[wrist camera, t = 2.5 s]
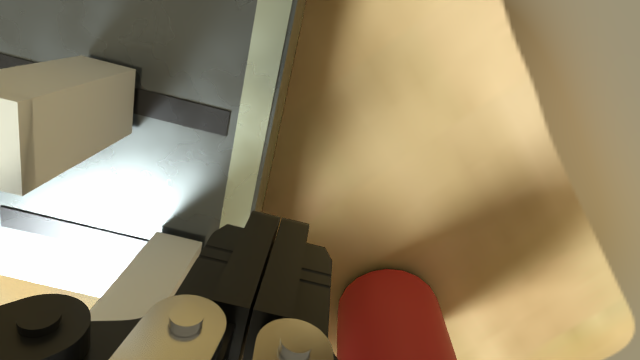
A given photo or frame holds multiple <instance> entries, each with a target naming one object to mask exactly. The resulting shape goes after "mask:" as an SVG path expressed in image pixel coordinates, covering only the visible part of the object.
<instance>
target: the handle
mask: <svg viewBox="0 0 640 360" xmlns="http://www.w3.org/2000/svg"><path fill="white" fill-rule="evenodd" d="M201 248H202V242H199V241H195V240H191V239H187V238H183V237H178V236H174V235H170V234H166V233H162V232H156V233H155V234H154V235H153V236H152V238H151V239H150V240H149V241H148V242H147V243H146V245H145V246H144V247H143V248H142V249H141V251H140V252H139V253H138V254H137V255H136V256H135V258H134V259H133V260H132V261H131V262H130V263H129V265H128V266H127V267H126V268H125V269H124V271H123V272H122V273H121V274H120V275H119V276H118V278H117V279H116V280H115V281H114V282H113V283H112V285H111V286H110V287H109V288H108V289H107V291H106V292H105V293H104V294H103V295H102V296H101V298H100V299H99V300H98V301H97V302H96V304H95V305H94V306H93V307H92V308H91V309H90V314H91V321H116V320H132V319H138V318H142V317H143V316H144V315H145V314H146V312H147V311H148V310H149V309H150V308H151V307H152V306H153V305H154V304H156V303H157V302H159V301H161V300H163V299H165V298H168V297H171V296H174V295H175V293H176V292H177V290H178V289H179V287H180V285H181V284H182V282H183V280H184V279H185V277H186V276H187V274H188V272H189V271H190V269H191V267H192V266H193V264H194V262H195V261H196V259H197V258H198V257H199V254H200V253H201Z"/></svg>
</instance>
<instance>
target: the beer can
mask: <svg viewBox="0 0 640 360" xmlns="http://www.w3.org/2000/svg"><path fill="white" fill-rule="evenodd" d="M337 359H338V360H457V358H456V355H455V352H454V349H453V346H452V343H451V340H450V337H449V334H448V331H447V328H446V325H445V322H444V319H443V316H442V313H441V310H440V306H439V303H438V300H437V298H436V296H435V294H434V293H433V291H432V289H431V288H430V286H429V285H427V284H426V283H425V282H424V281H423V280H421V279H420V278H419V277H418V276H415V275H413V274H410V273H408V272H405V271H403V270H393V269H383V270H377V271H371V272H369V273H367V274H365V275H362V276H360V277H358V278H357V279H355V280H354V281H353V282H352V283H351V284H350V285H349V286H348V287H347V288H346V289H345V291H344V293H343V294H342V296H341V298H340V300H339V306H338V323H337Z"/></svg>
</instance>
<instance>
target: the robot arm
mask: <svg viewBox="0 0 640 360" xmlns="http://www.w3.org/2000/svg"><path fill="white" fill-rule="evenodd" d="M279 221H280V217H278V216H274V215H270V214H266V213H262V212H258V211H252V213H251V215H250V217H249V219H248V221H247V223H246V225H245V227H244V228H242V227H238V226H234V225H230V224H226V225H225V226H223V227H221V228H220V229H218V230H216V231H214V232H213V233H212V235H211V236H210V238H209V240H208V241H207V243H206V245H205V247H204V248H203V249H202V251H201V253H200V254H199V257H198V258H197V259H196V261H195V262H194V264H193V266H192V267H191V269H190V271H189V272H188V274H187V276H186V277H185V279H184V280H183V282H182V284H181V285H180V287H179V289H178V290H177V292H176V293H175V295H174V296H171V297H168V298H165V299H163V300H161V301H159V302H157V303H156V304H154V305H153V306H152V307H151V308H150V309H149V310H148V311H147V312H146V314H145V315H144V316H143V317H142V318H138V319H132V320H116V321H91V314H90V311H89V309H88V307H87V306H86V305H85V304H84V303H83V302H82V301H80V300H79V299H77V298H74V297H71V296H68V295H62V294H42V295H36V296H31V297H27V298H24V299H20V300H17V301H14V302H11V303H7V304H4V305H1V306H0V360H338V359H337V357H336V356H335V355H334V353H333V349H332V346H331V343H330V341H329V340H328V324H329V307H330V287H331V272H332V260H331V258H330V256H329V254H328V252H327V251H326V249H325V247H321V246H317V245H313V244H308V243H306V241H307V235H308V229H309V224H307V223H303V222H299V221H295V220H291V219H286V218H282V220H281V223H280V227H279V230H278V225H279ZM277 230H278V233H277ZM276 234H277V236H276ZM275 238H276V239H275ZM242 357H243V358H242Z"/></svg>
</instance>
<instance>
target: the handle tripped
mask: <svg viewBox="0 0 640 360" xmlns="http://www.w3.org/2000/svg"><path fill="white" fill-rule="evenodd" d="M135 74H136V69H133V68H129V67H125V66H121V65H117V64H113V63H109V62H105V61H101V60H98V59H94V58H90V57H86V56H82V55H81V56H75V57H69V58H63V59H57V60H51V61H45V62H39V63H33V64H27V65H21V66H15V67H9V68H3V69H0V191H2V192H7V193H11V194H15V195H19V196H24V195H25V194H27V193H29V192H31V191H32V190H34V189H36V188H37V187H39V186H41V185H43V184H44V183H46V182H48V181H50V180H51V179H53V178H55V177H57V176H58V175H60V174H62V173H64V172H65V171H67V170H69V169H70V168H72V167H74V166H76V165H77V164H79V163H81V162H83V161H84V160H86V159H88V158H90V157H91V156H93V155H95V154H97V153H98V152H100V151H102V150H104V149H105V148H107V147H109V146H110V145H112V144H114V143H116V142H117V141H119V140H121V139H123V138H124V137H126V136H128V135H130V134H131V133H132V122H133V106H134V90H135Z"/></svg>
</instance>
